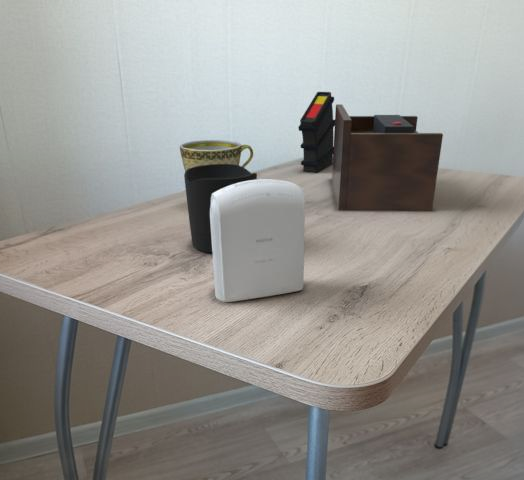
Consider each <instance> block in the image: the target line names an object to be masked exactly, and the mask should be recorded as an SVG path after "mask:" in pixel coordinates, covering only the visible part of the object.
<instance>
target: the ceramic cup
mask: <svg viewBox="0 0 524 480" xmlns="http://www.w3.org/2000/svg"><path fill="white" fill-rule="evenodd" d="M246 149H248V150H249V152H250V155H249V157H248V159H247V160H246V161H245V162H244V163H243V164H242V165H241V166H242V167H243V168H245V169H246V167H247V166H248V165H249V164H250V162H251V161H252V159H253V157H254V150H253V148H252V146H250V145H248V144H242V143H241V142H238V141H234V140H227V139H202V140H191V141H187V142H184V143H181V144H179V153H180V157H181V161H182V166H183V169H184V173H185V172H186V170H187V169H189V168H192V167H196V166H202V165H211V164H234V165H239V166H240V163H241V156H242V152H243V151H244V150H246Z"/></svg>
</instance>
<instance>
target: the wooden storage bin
mask: <svg viewBox="0 0 524 480" xmlns="http://www.w3.org/2000/svg"><path fill="white" fill-rule="evenodd" d="M400 116H401V117H402V118H404V119H405V120H406V121H407V122H409V123H410V124H411V125H412V126H414V129H413V133H373V126H374V115H349V113H348V111H347V110H346V108H345V107H344V105H343V104H341V103H340V104H335V115H334V120H335V126H334V130H333V136H334V137H333V147H334V149H333V163H332V169H331V171H332V172H331V182H332V187H333V193H334V197H335V201H336V202H335V203H336V206H337V211H341V212H342V211H343V212H345V211H348V212H349V211H351V212H354V211H355V212H432V211H433V206H434V199H435V191H436V187H437V186H436V185H437V179H438V171H439V167H440V166H439V165H440V159H441V153H442V152H441V150H442V143H443V138H444V134H443V132H418V131H417V127H418V125H417V124H418V116H417V115H400Z"/></svg>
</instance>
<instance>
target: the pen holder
mask: <svg viewBox="0 0 524 480" xmlns="http://www.w3.org/2000/svg"><path fill="white" fill-rule="evenodd" d="M242 166H243V165H240V164H239V165H234V164H211V165H202V166H196V167H192V168H189V169H187V170H186V172H185V171H184V176H183V177H184V187H185V188H184V189H185V194H186V204H187V211H188V212H187V213H188V221H189V229H190V236H191V244H192V247H193V248H195V250H197V251H199V252H200V253H204V254H208V255H209V254H210V255H213V254H212V240H211V225H210V207H211V196H212V193H214V192H216V191H218V190H220V189H222V188H224V187H227V186H229V185H232V184H236V183H239V182H243V181H248V180H257V179H258V173H257V172H250V171H249V170H248V169H247V168H246V167H245V168H243V167H242Z"/></svg>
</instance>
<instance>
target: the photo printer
mask: <svg viewBox="0 0 524 480" xmlns="http://www.w3.org/2000/svg"><path fill="white" fill-rule="evenodd" d="M305 202H306V201H305V195H304V191H303V188H302V187H301V186H299V185H298V184H296V183H293V182H290V181H286V180H281V179H274V178H271V179H270V178H259V179H258V178H257V180H248V181H243V182H239V183H236V184H232V185H229V186H227V187H224V188H222V189H220V190H218V191H216V192H214V193H212V196H211V207H210V225H211V240H212V254H211V255H212V267H213V281H214V294H215V298H216V299H217V300H218V301H220V302H222V303H223V302H224V303H233V302H240V301H247V300H253V299H260V298H266V297H272V296H277V295H278V296H279V295H284V294H289V293H294V292H299V291H301V290H303V288H304V282H305V281H304V280H305V232H306V231H305V228H306V227H305V225H306V224H305V223H306V203H305Z"/></svg>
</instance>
